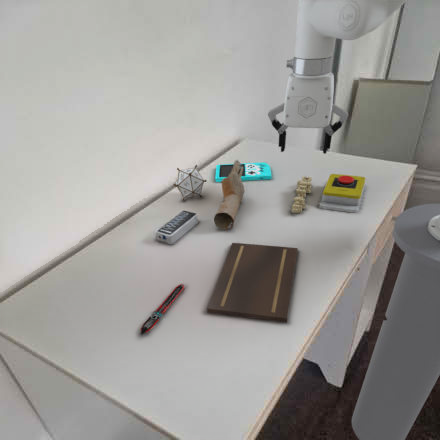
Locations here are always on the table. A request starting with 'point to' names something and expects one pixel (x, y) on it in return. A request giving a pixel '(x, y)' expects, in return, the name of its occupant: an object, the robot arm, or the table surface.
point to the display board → (255, 282)
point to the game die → (189, 182)
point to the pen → (162, 309)
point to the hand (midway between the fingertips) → (303, 150)
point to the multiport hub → (177, 227)
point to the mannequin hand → (230, 197)
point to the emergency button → (343, 193)
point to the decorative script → (301, 194)
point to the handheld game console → (245, 171)
